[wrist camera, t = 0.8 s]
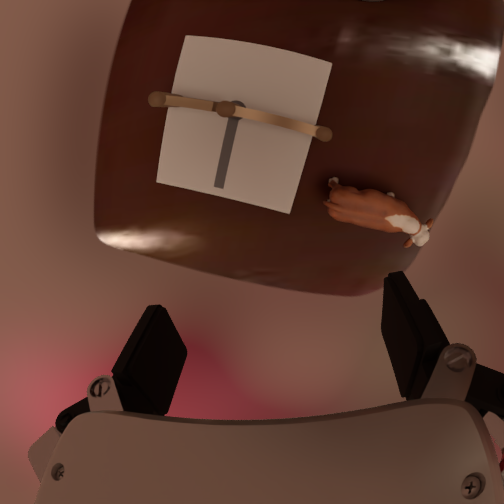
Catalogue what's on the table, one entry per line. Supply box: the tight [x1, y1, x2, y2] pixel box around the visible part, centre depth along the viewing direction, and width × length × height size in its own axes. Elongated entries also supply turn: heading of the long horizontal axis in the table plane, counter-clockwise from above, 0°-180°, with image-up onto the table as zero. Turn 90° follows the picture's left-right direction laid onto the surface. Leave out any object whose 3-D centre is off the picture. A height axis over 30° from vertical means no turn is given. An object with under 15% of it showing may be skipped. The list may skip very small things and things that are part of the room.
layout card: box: [157, 36, 332, 214], centre depth 29 cm, size 19×17×1 cm
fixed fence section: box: [148, 91, 219, 112], centre depth 26 cm, size 2×6×6 cm, turn 77°
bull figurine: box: [323, 177, 433, 248], centre depth 29 cm, size 4×13×8 cm, turn 76°
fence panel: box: [216, 101, 332, 142], centre depth 26 cm, size 11×2×6 cm, turn 77°
